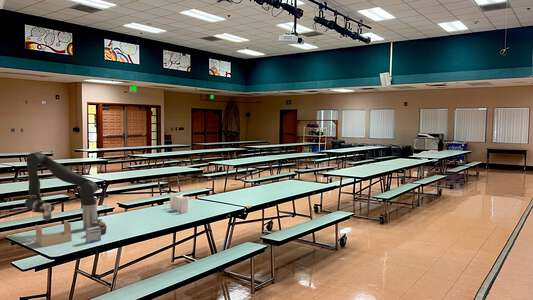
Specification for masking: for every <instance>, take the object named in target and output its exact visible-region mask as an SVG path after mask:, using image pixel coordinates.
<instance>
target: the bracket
mask: <svg viewBox="0 0 533 300" xmlns="http://www.w3.org/2000/svg"><path fill="white" fill-rule="evenodd" d="M169 204H170V205H169V207H170V210H171V209H173V211H177V212H178V213H179V212H180V214H186V213H189V212H190V197H189V196H184V195H183V194H182V193H174V194H172V193H171V194H169Z"/></svg>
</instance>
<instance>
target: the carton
mask: <svg viewBox="0 0 533 300" xmlns="http://www.w3.org/2000/svg"><path fill="white" fill-rule="evenodd" d="M71 224H72V223H70V222H68V221H67V220H65V219H64V220H63V234H62V233H60V232H56V233H50V234H45V235H43V229H42V228H41V226H38V225H37V224H35V236H34V237H31V239H32V240H33V241H35V243H36V244H38V245H39V246H41V247H42V248H43V247H44V248H45V247H48V246H49V247H50V246H53V245H59V244H63V243H68V242H72V241H73V240H72V225H71Z"/></svg>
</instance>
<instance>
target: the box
mask: <svg viewBox="0 0 533 300" xmlns="http://www.w3.org/2000/svg"><path fill="white" fill-rule="evenodd" d="M45 203H46V204H42V205H43V209H44V210H45V213H42V220H44V221H45V222H46V221H50V220H51V221H52V212H51V206H52V205H51V203H49V202H45Z"/></svg>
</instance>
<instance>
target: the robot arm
mask: <svg viewBox="0 0 533 300" xmlns="http://www.w3.org/2000/svg"><path fill="white" fill-rule="evenodd" d="M25 160H26V166H27V174H28V175H27V176H28V195H31V196H35V197H29V198H26V200H25V202H24V206H25V207H26V208H27V209H29V210H30V209H31V210H32V213H37V214H38V213H39V214H43V213H45V210H44V209H43V205H42V204H46V203H47V202H46V201H44V200H43V199H42V196H41V181H40V180H41V179H40V178H39V177H40V176H39V175H38V166H41V167H43V168H46V169H47V170H48V171H49V172H50V173H51V174H52V175H53V176H54V177H55V178H57V179H58V180H60V181H62V182H64V183H67V184H70V185H75V186H77V187H79V188H80V190H79V192H80V193H79V194H80V201H81V203H82V209H81V210H82V226H83V227H82V228H83V230H85V229H88V228H91V227H92V223H94V220H99V214H98V206H97V205H98V203H97V202H98V201H97V199H96V198H95V193H97V192H98V190H99V186H98V184H97V183H96V182H95V181H93V180H91V179H88V178H86V177H84V176H82V175H80V174H78V173H77V172H75V171H74V170H71V169H70V168H68V167H67V166H64V165H63V164H61V163H60V162H57V161H55V160H54V159H52V158H50V157H49V156H47V155H46V154H45V153H43V152H41V151H35V152H30V153H29V154H27V156H26V159H25ZM55 209H56V208H55V204H52V205H51V213H52V212H53V211H55Z"/></svg>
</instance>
